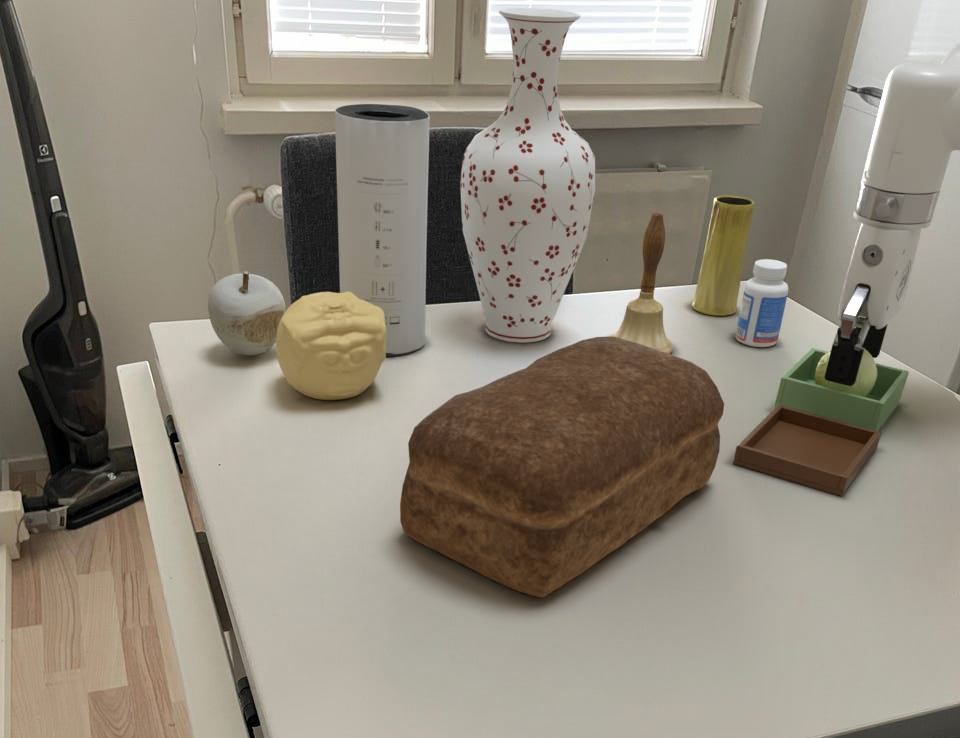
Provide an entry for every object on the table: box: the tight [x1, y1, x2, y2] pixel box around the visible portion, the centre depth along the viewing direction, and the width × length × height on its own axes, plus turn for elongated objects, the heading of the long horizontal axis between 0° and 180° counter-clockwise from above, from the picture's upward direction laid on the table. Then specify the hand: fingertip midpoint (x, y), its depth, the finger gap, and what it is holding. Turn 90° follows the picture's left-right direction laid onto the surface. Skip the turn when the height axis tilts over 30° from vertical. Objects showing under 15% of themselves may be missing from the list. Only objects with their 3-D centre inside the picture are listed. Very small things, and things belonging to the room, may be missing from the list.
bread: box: [399, 335, 725, 598], centre depth 88 cm, size 17×30×13 cm, turn 140°
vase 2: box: [691, 195, 755, 317], centre depth 134 cm, size 6×6×14 cm
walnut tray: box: [732, 405, 882, 497], centre depth 102 cm, size 11×13×2 cm
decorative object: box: [207, 270, 286, 356], centre depth 115 cm, size 9×9×10 cm
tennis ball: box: [815, 347, 877, 397], centre depth 110 cm, size 6×7×7 cm
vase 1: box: [459, 7, 596, 344], centre depth 117 cm, size 16×16×35 cm
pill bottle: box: [735, 258, 789, 348], centre depth 126 cm, size 6×5×10 cm
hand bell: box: [611, 211, 674, 354], centre depth 120 cm, size 8×8×16 cm
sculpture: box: [275, 291, 387, 401], centre depth 107 cm, size 11×12×11 cm
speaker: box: [334, 103, 431, 357], centre depth 115 cm, size 11×10×26 cm
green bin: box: [773, 347, 910, 432], centre depth 112 cm, size 11×11×4 cm
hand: (851, 368), depth 110 cm, fingers open, 9 cm apart
